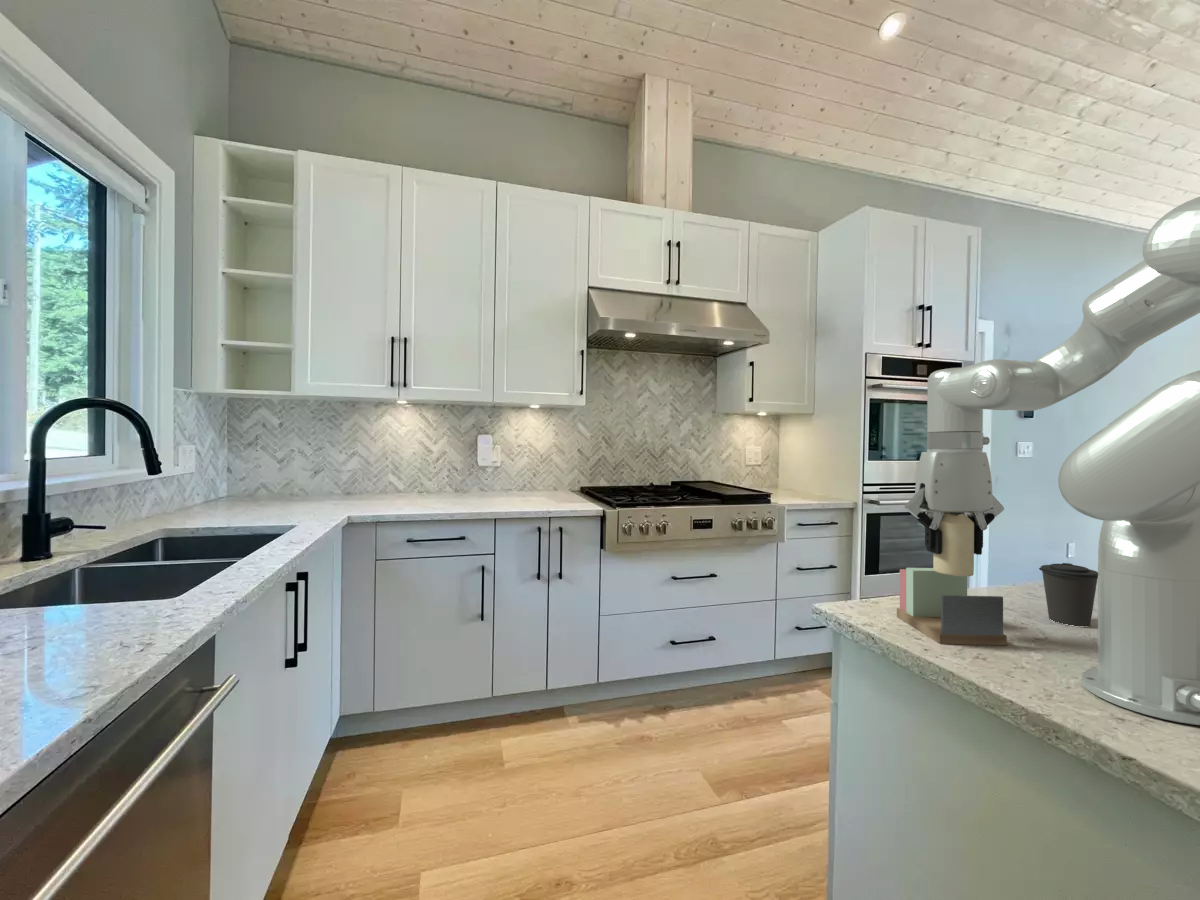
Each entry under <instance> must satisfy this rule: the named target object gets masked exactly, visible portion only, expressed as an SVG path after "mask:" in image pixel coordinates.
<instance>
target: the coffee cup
mask: <svg viewBox="0 0 1200 900" xmlns="http://www.w3.org/2000/svg"><path fill="white" fill-rule="evenodd" d="M1038 570H1040V571H1041V574H1042V580H1043V586H1044V591H1045V592H1044V593H1045V601H1046V608H1047V613H1048V619H1049V620H1050V619H1051V620H1053V621H1055V622H1054V623H1056V622H1059V623H1063V624H1068V625H1074V626H1089V627H1090V626H1091V624H1092V623H1091V622H1092V617H1093V609H1094V604H1095V598H1096V591H1097V586H1098V570H1097V571H1096V570H1093V569H1090V568H1088V567H1086V566H1082V565H1075V564H1073V563H1069V562H1062V563H1050V564H1043V565H1041V566H1040V567H1039V568H1038ZM1051 620H1050V621H1051ZM1053 621H1052V622H1053ZM1059 623H1058V624H1059ZM1063 624H1062V625H1063ZM1068 625H1067V626H1068ZM1074 626H1073V627H1074Z"/></svg>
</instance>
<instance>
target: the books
mask: <svg viewBox="0 0 1200 900" xmlns="http://www.w3.org/2000/svg"><path fill="white" fill-rule="evenodd" d="M941 595H959V596H968V576H952V575H946V574H941V573H938V572H935V571H934V569H933V567H906V568H903V569H902V568H900V569H899V608H900V609H901V610H903V611H905V612H906V613H908V614H910V615H911V616H913V617H941Z"/></svg>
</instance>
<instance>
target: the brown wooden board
mask: <svg viewBox="0 0 1200 900" xmlns="http://www.w3.org/2000/svg"><path fill="white" fill-rule="evenodd" d="M896 617H897V618H898V619H900V620H901V621H903V622H905V623H906V624H908V625H909V626H910V627H913V629H916V630H917V631H919V632H920V631H921V632H920V633H923V634H924V635H925V634H926V635H925V636H927V637H928V636H929V638H930V639H931V640H933V641H935V642H936V641H937V642H936V643H938V644H939V643H941V645H976V646H978V645H979V646H980V645H982V646H983V645H984V646H1007V643H1008V642H1007V641H1008V640H1007V639H1008V638H1007V637H1008V635H1006V634H1005V633H1003V636H999V635H953V634H942V633H941V617H913V616H911V615H910V614H908V613H906V612H905V611H903V610H901V609H900V607H899V608H898V607H897V608H896ZM977 644H978V645H977Z"/></svg>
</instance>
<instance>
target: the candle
mask: <svg viewBox="0 0 1200 900" xmlns="http://www.w3.org/2000/svg"><path fill="white" fill-rule="evenodd" d="M938 529H939V530H941V531H942V553H941V554H935V553H932V554H933V555H932V556H933V558H932V559H933V560H932V561H933V563H932V564H933V566H932V568H933V569H934V571H935V572H938V573H941V574H946V575H952V576H967V577H972V576H974V571H975V569H974V568H975V554H974V522H973V521H972V520H970V519H969V518H968V517H967V516H966V515H965V513H955V512H944V513H943V516H942V518H941V521H940V524H939V526H938Z"/></svg>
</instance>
